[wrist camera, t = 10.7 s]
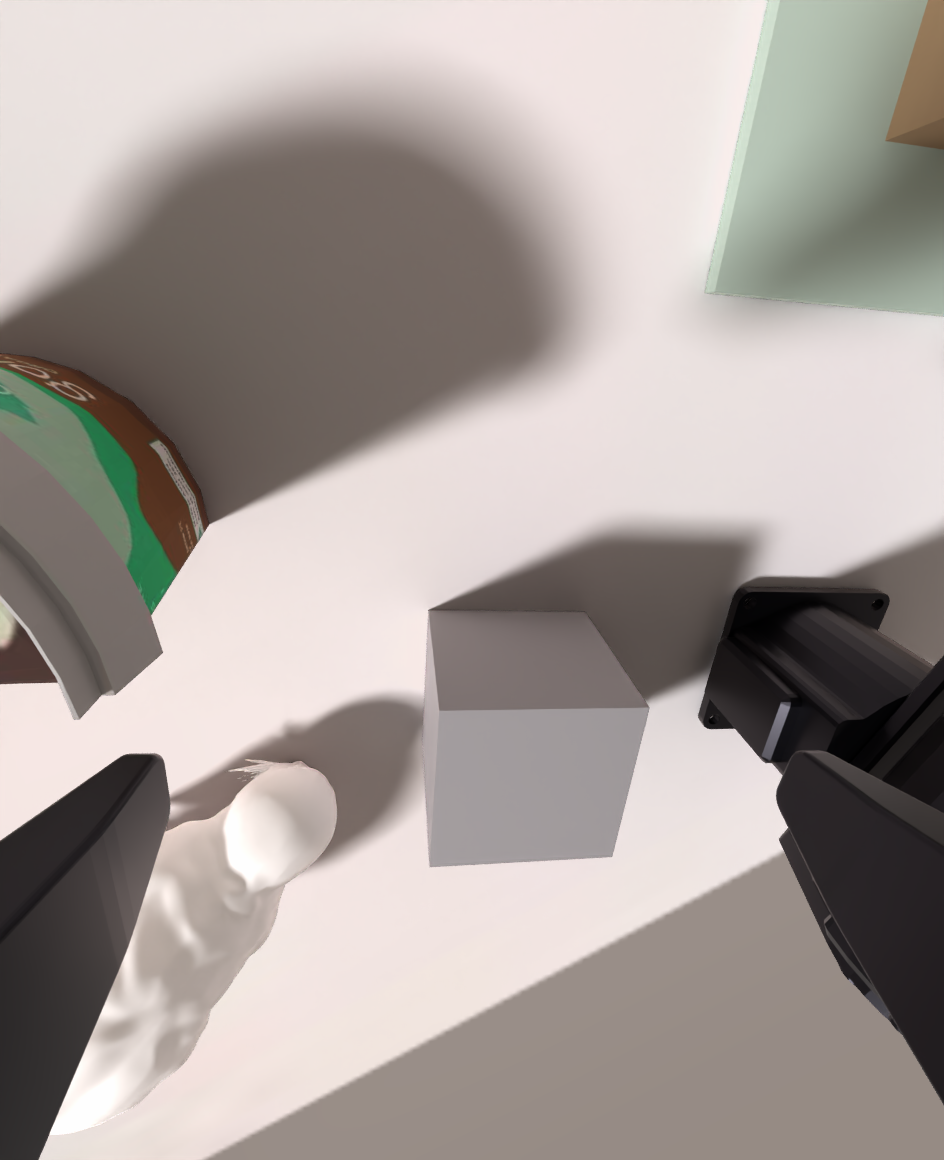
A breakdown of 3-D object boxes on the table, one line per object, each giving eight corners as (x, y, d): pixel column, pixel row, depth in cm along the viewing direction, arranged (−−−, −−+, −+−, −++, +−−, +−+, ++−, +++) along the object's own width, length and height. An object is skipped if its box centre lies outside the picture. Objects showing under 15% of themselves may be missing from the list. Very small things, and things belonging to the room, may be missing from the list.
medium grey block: (584, 610, 21) (649, 707, 16) (562, 735, 23) (611, 856, 18) (428, 609, 20) (438, 710, 15) (422, 738, 23) (429, 867, 17)
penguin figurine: (-103, 1132, 15) (219, 865, 14) (56, 868, 23) (269, 686, 22) (104, 1190, 17) (389, 967, 16) (182, 934, 25) (378, 773, 24)
